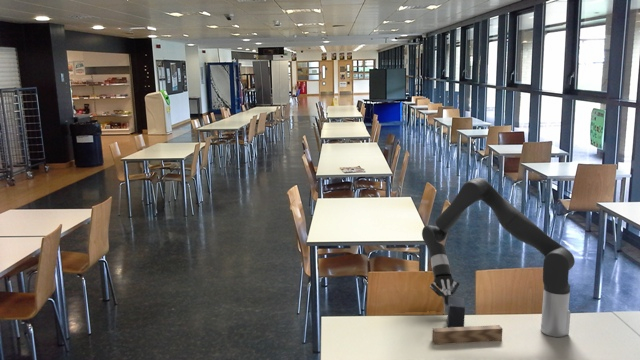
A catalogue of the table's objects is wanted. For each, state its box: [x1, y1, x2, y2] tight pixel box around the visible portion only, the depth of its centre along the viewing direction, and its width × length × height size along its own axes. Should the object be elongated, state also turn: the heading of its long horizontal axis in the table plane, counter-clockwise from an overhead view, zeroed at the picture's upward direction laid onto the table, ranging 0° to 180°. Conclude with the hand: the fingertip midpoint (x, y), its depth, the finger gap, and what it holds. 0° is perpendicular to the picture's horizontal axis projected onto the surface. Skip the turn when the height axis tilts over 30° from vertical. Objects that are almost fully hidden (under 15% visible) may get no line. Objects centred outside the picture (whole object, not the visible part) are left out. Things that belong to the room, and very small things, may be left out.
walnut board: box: [431, 324, 503, 345], centre depth 206 cm, size 26×3×5 cm, turn 95°
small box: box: [446, 295, 466, 328], centre depth 219 cm, size 11×6×10 cm, turn 168°
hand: (448, 304), depth 228 cm, fingers closed
